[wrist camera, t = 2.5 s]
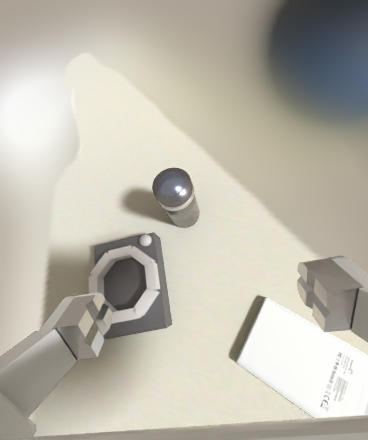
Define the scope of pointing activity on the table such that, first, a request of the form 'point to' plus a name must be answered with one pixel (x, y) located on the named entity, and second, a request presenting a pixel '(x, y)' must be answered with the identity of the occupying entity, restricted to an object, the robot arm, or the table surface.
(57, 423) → the table surface
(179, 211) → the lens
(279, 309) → the external hard drive
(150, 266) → the octagonal socket base
